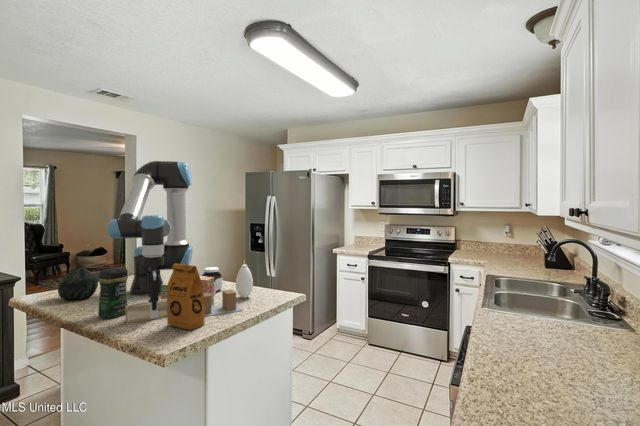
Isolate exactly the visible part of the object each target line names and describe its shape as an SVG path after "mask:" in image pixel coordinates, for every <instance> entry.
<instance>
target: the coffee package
mask: <svg viewBox="0 0 640 426" xmlns="http://www.w3.org/2000/svg"><path fill="white" fill-rule="evenodd" d="M197 267H198V266H196V265H192V264H190V265H184V264H174V265H173V266H172V268H174V269H173V270H172V273H171V276H170V278H169V280H168V281H167V282H168V285H167V316H166V317H167V319H166V320H167V322H166V323H167V325H169V326H173V327H177V328H179V329H184V330H188V331H192V330H196V329H197V328H201V327H203V326H205V317H204V310H205V302H204V293H203V285H202V282H201V279H200V276H201V275H200V273H199V270H198V268H197Z"/></svg>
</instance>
